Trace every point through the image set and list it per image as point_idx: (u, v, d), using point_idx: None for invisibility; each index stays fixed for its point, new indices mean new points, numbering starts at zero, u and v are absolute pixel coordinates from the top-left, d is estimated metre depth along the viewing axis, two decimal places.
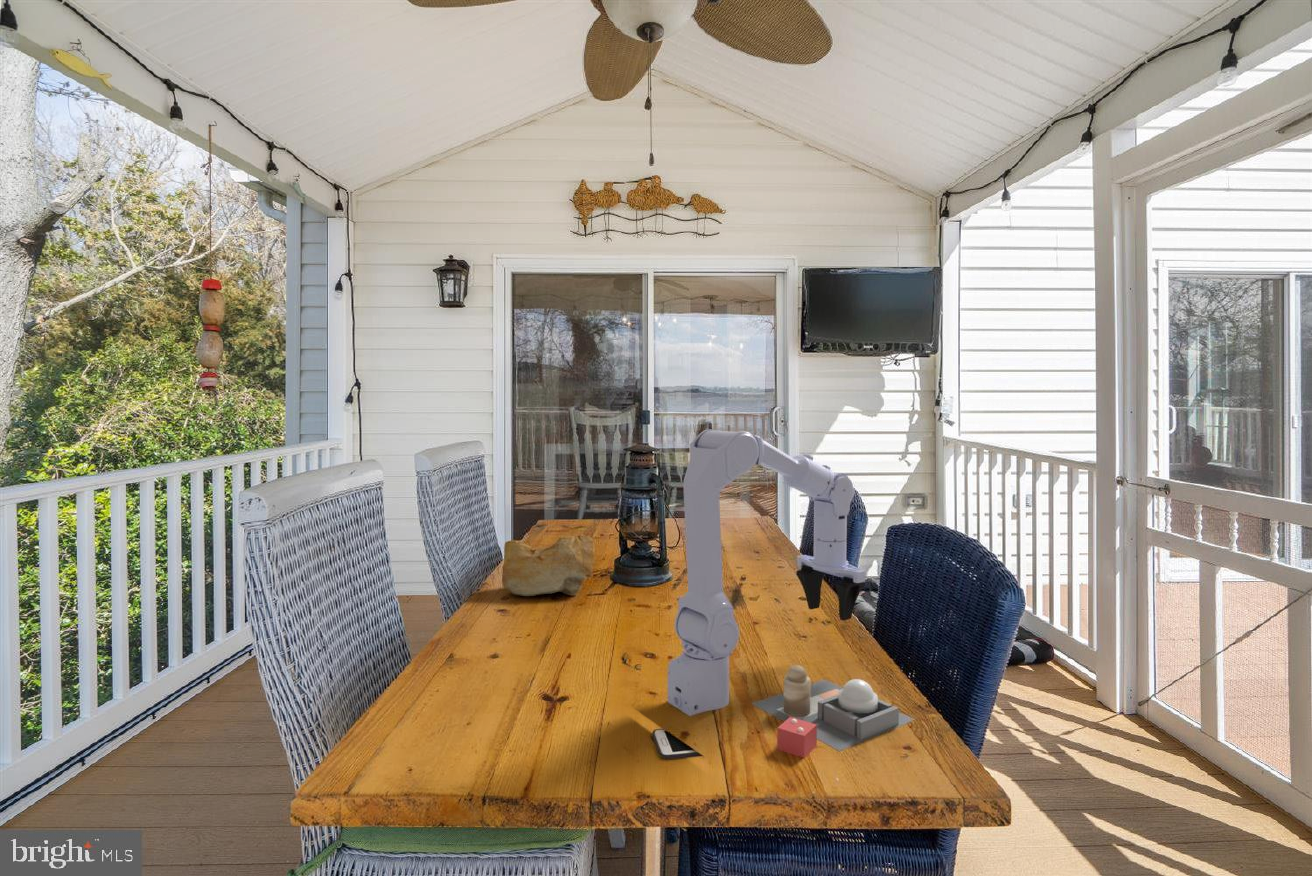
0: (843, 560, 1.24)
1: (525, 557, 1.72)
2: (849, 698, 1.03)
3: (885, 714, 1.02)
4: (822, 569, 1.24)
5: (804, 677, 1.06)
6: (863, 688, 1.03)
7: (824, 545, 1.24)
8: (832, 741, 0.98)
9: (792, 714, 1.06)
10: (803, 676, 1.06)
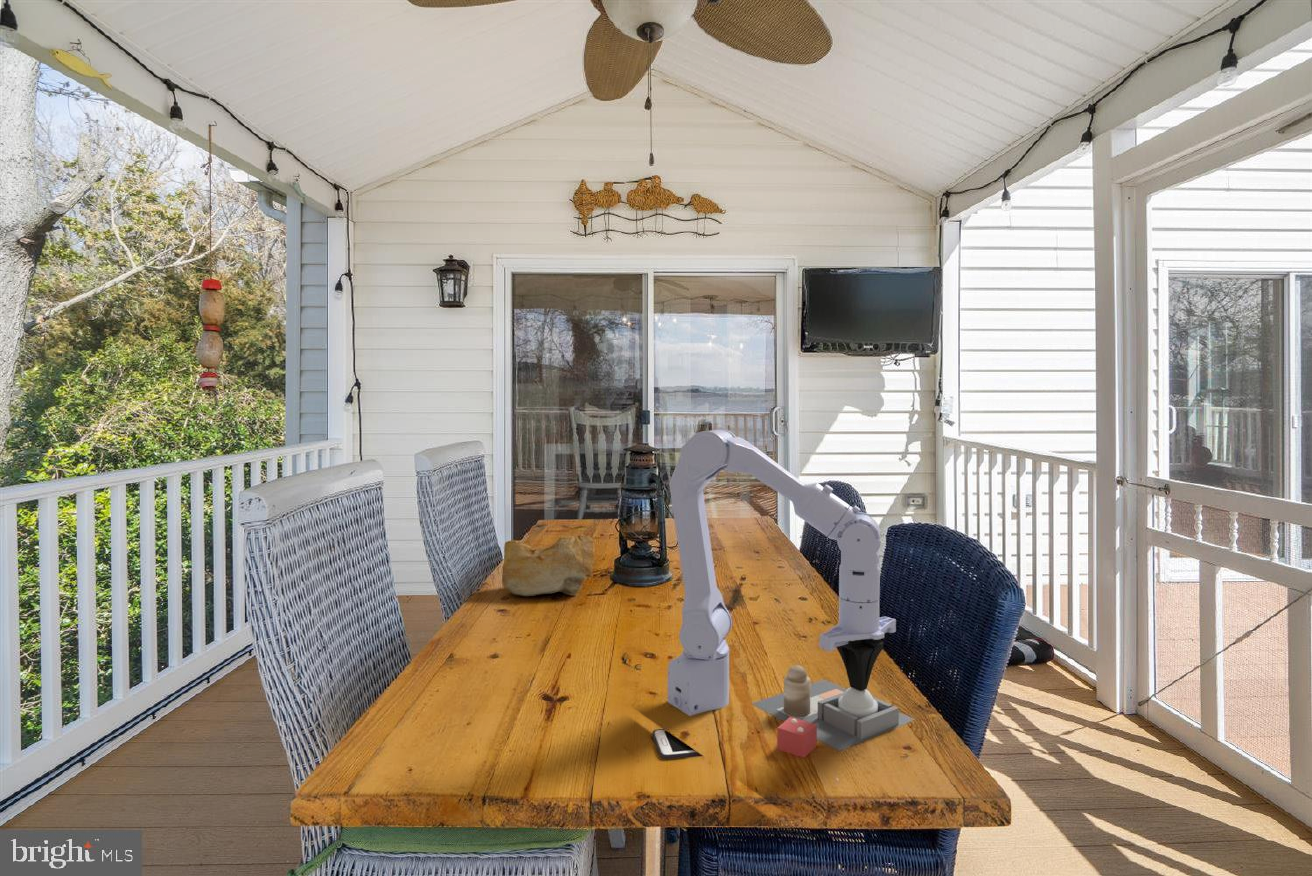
0: (848, 625, 1.02)
1: (525, 557, 1.72)
2: (849, 705, 1.03)
3: (885, 714, 1.02)
4: None
5: (804, 677, 1.06)
6: (863, 696, 1.03)
7: None
8: (832, 741, 0.98)
9: (792, 714, 1.06)
10: (803, 676, 1.06)
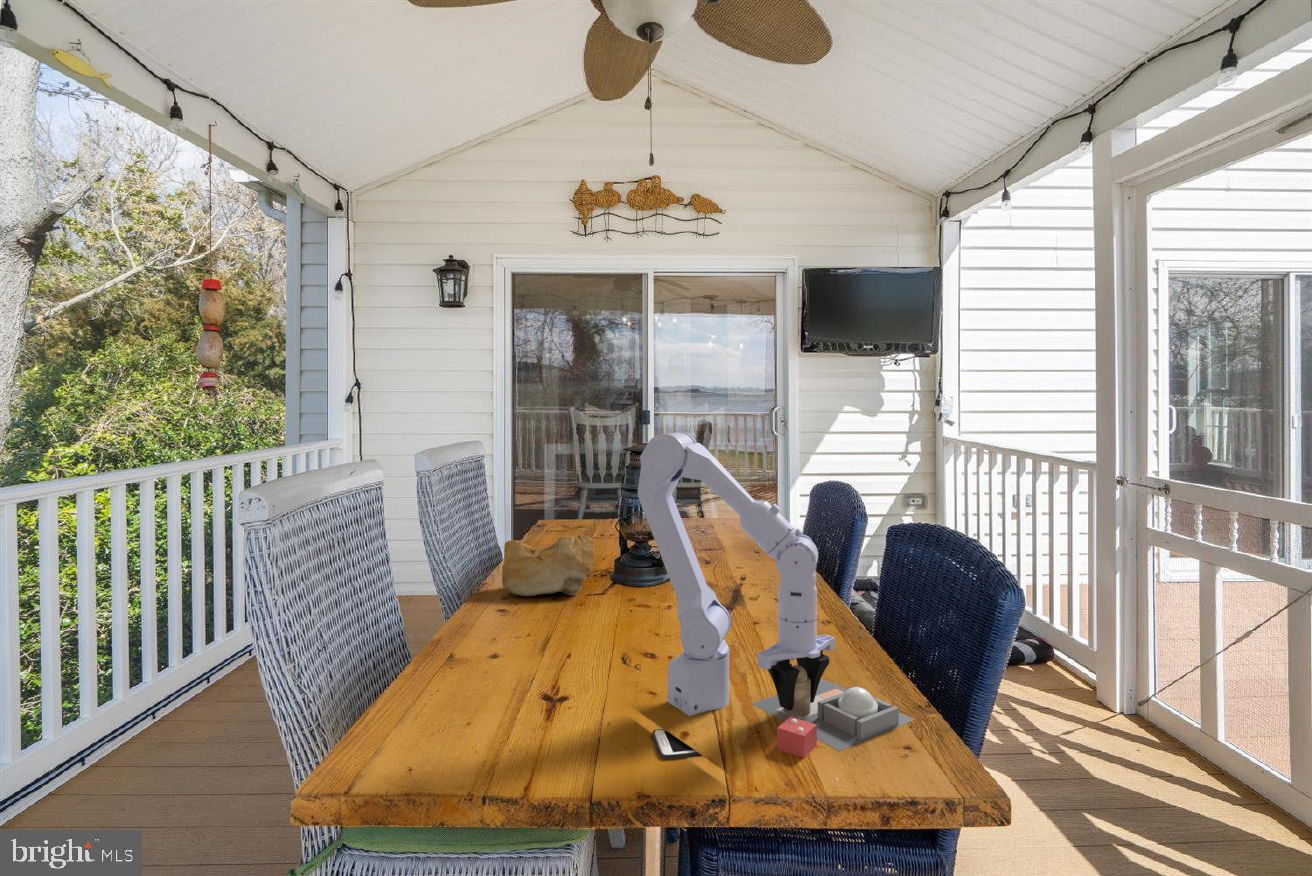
0: (786, 643, 1.05)
1: (525, 557, 1.72)
2: (849, 706, 1.03)
3: (885, 714, 1.02)
4: None
5: (804, 677, 1.06)
6: (863, 696, 1.03)
7: None
8: (832, 741, 0.98)
9: (792, 714, 1.06)
10: (803, 676, 1.06)
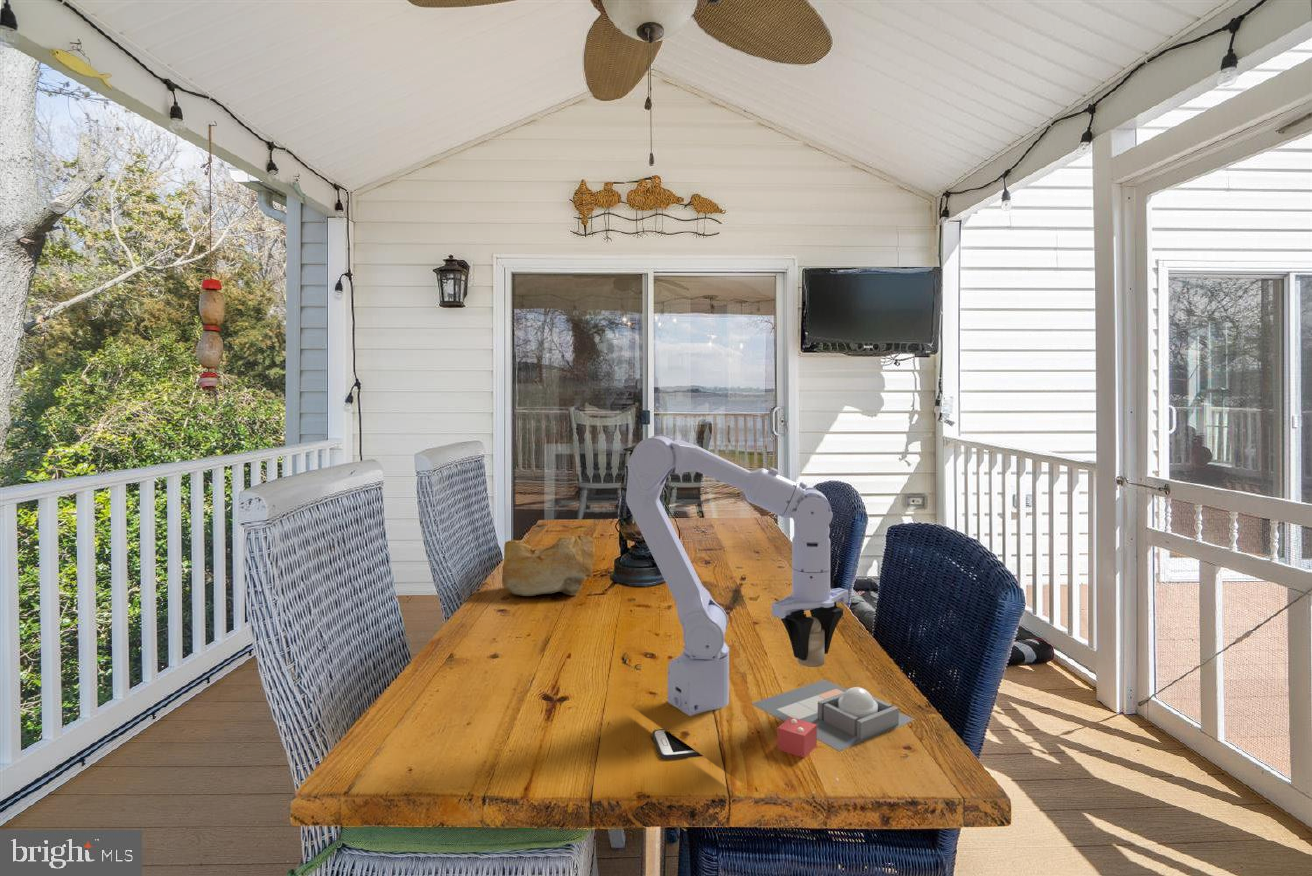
0: (800, 594, 1.06)
1: (525, 557, 1.72)
2: (849, 706, 1.03)
3: (885, 714, 1.02)
4: None
5: (818, 628, 1.07)
6: (863, 696, 1.03)
7: None
8: (832, 741, 0.98)
9: (807, 664, 1.07)
10: (817, 627, 1.07)
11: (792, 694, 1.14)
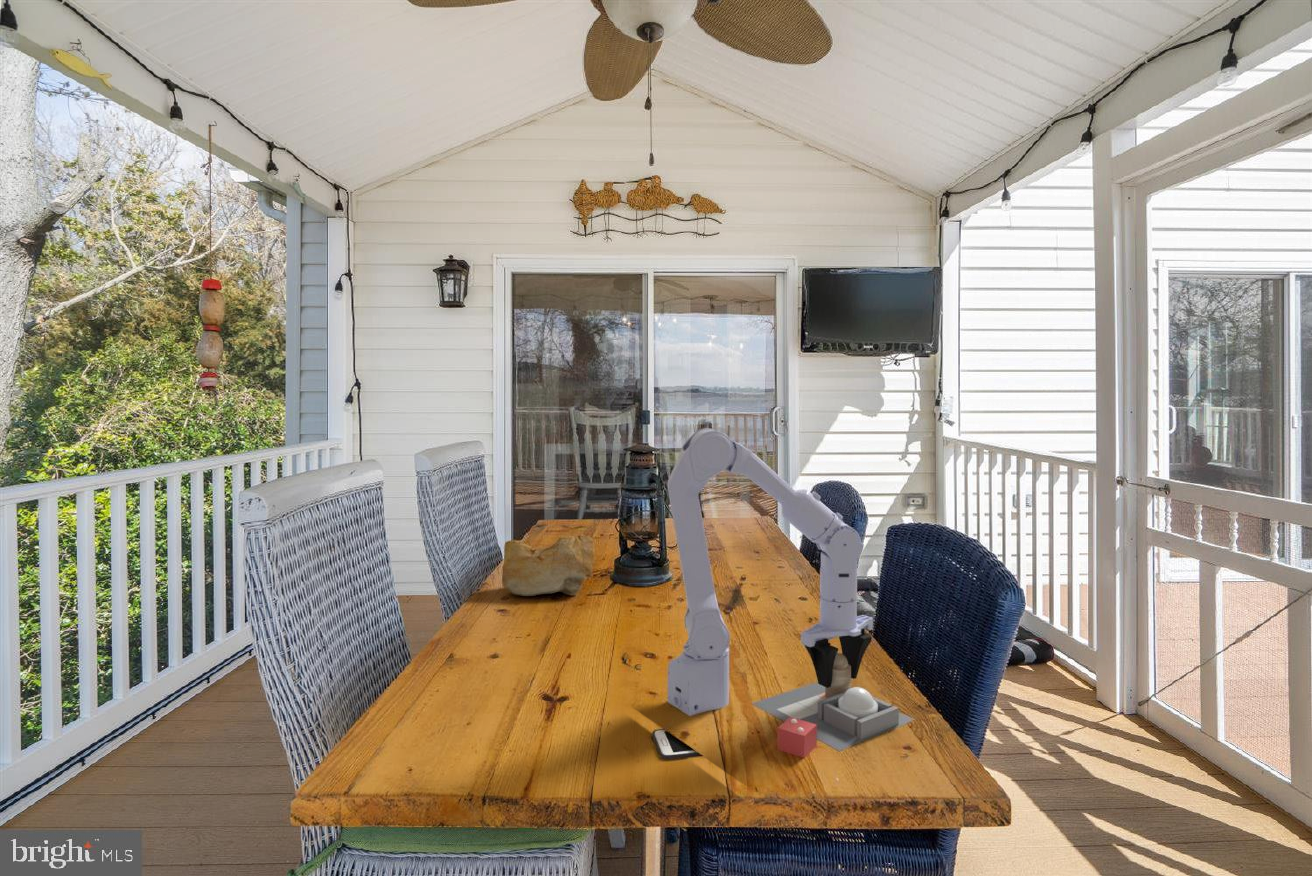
0: (828, 622, 1.10)
1: (525, 557, 1.72)
2: (849, 706, 1.03)
3: (885, 714, 1.02)
4: None
5: (845, 664, 1.11)
6: (863, 696, 1.03)
7: None
8: (832, 741, 0.98)
9: None
10: (844, 664, 1.11)
11: (792, 694, 1.14)
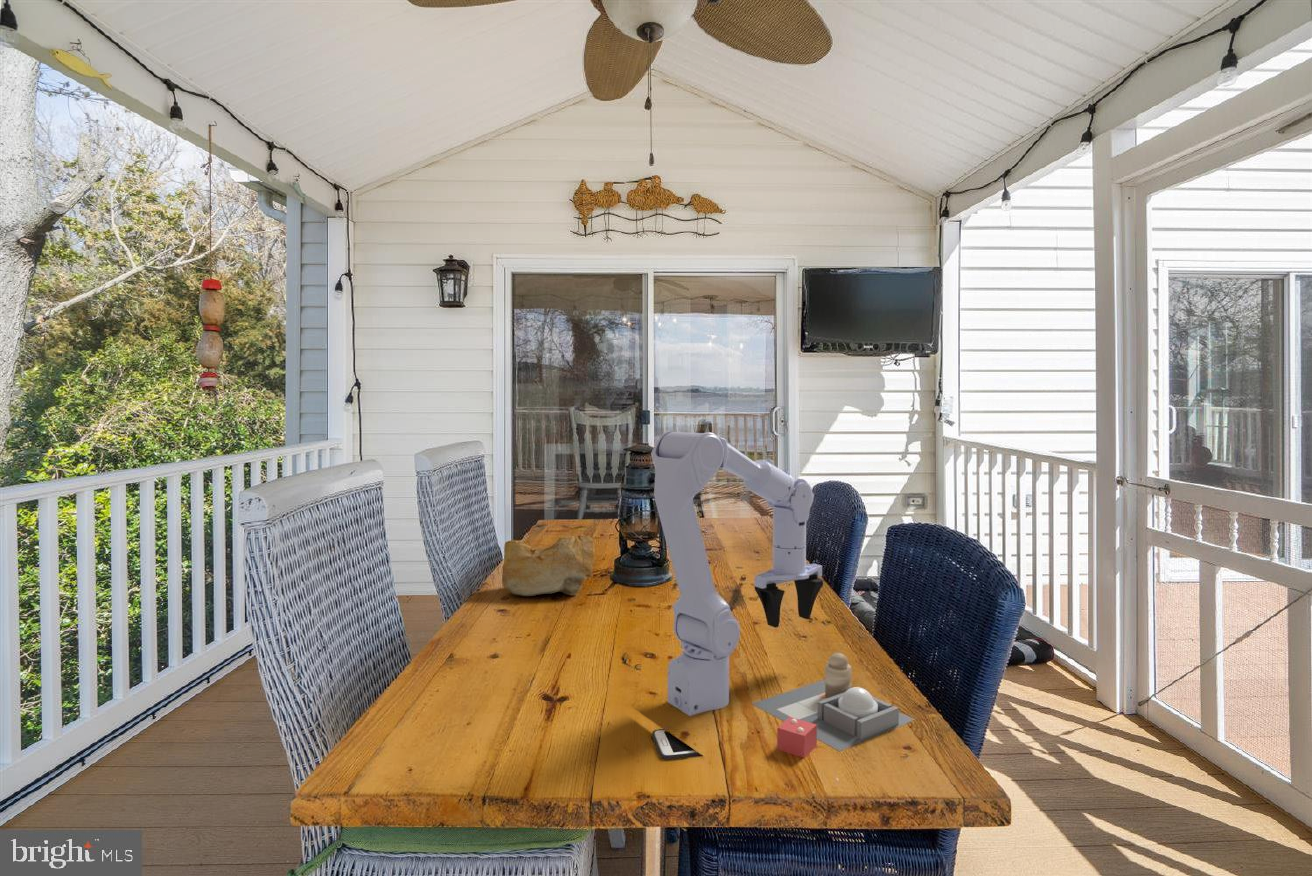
0: (779, 567, 1.22)
1: (525, 557, 1.72)
2: (849, 706, 1.03)
3: (885, 714, 1.02)
4: None
5: (845, 664, 1.11)
6: (863, 696, 1.03)
7: None
8: (832, 741, 0.98)
9: None
10: (844, 663, 1.11)
11: (792, 694, 1.14)
